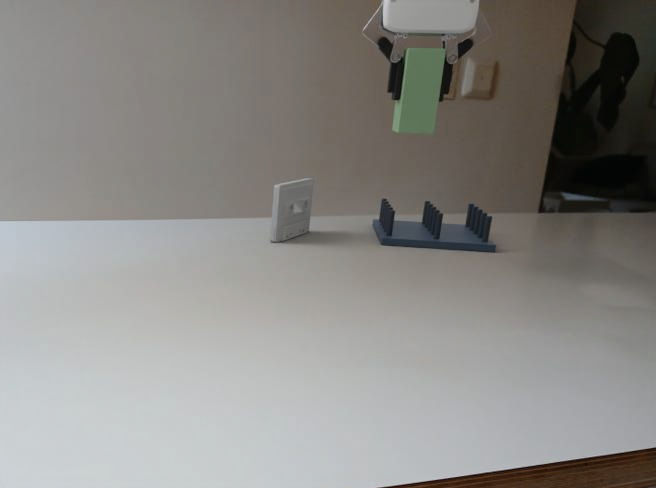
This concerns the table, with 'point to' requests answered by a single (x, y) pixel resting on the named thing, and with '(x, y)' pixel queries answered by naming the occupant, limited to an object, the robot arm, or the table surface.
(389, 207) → the rack
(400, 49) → the robot arm
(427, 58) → the block
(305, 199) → the cassette
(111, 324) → the table surface
